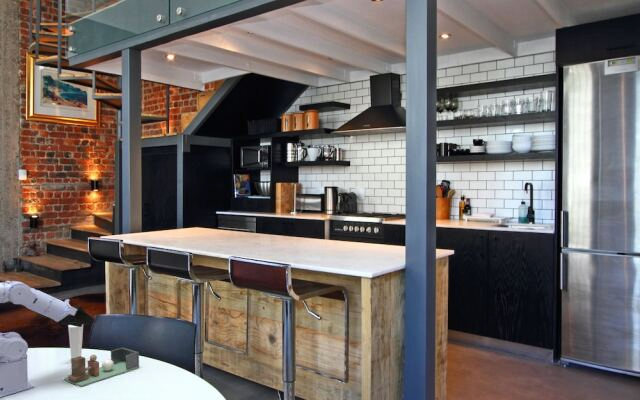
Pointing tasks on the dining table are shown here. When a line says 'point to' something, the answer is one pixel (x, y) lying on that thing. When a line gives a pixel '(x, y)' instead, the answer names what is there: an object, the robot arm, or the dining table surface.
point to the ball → (107, 365)
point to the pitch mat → (103, 374)
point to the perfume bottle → (75, 340)
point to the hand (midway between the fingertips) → (87, 323)
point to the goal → (125, 357)
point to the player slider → (83, 368)
